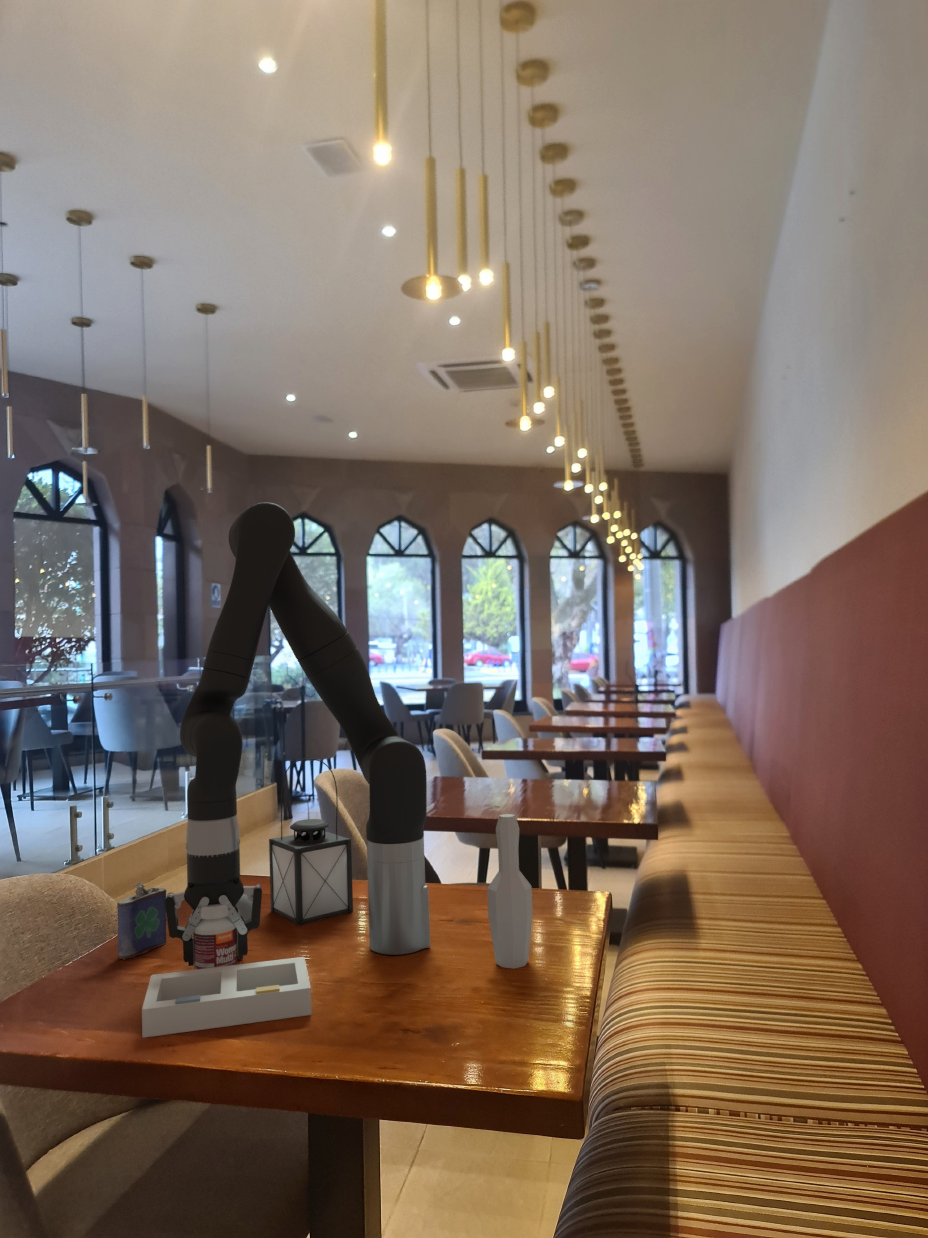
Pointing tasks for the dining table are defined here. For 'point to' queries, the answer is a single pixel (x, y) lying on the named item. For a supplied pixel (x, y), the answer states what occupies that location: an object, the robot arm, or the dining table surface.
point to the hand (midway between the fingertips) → (216, 961)
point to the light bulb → (244, 911)
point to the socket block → (226, 996)
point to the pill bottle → (215, 938)
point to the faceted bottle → (509, 900)
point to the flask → (141, 922)
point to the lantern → (310, 871)
